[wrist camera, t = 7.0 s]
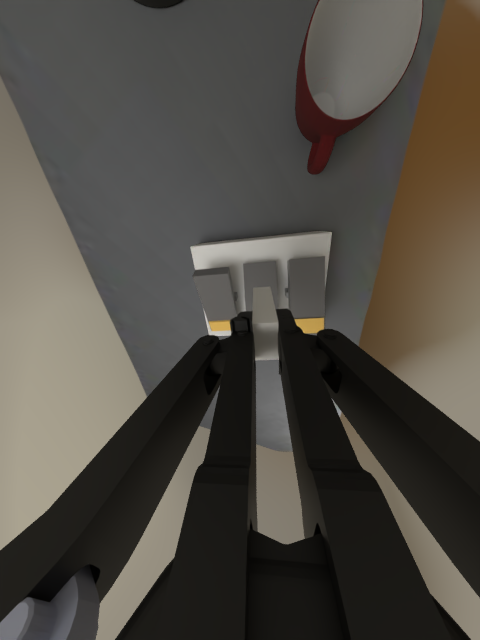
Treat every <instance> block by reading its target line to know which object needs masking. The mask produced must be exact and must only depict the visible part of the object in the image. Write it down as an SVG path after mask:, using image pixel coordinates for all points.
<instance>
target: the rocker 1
mask: <svg viewBox="0 0 480 640" xmlns="http://www.w3.org/2000/svg"><path fill="white" fill-rule="evenodd" d="M193 279H194V282H195V285H196V288H197V291H198V294H199V297H200V299H201V302H202V305H203V308H204V311H205V314H206V317H207V320H208V323H209V325H210V328H211V331H229V330H231V328H230V320H231V319H232V318H234V317H237V315H238V314H237V308H236V303H235V297H234V291H233V286H232V280H231V274H230V268H229V267H221V268H210V269H199V270H195V272H194V274H193Z"/></svg>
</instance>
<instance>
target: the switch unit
mask: <svg viewBox="0 0 480 640" xmlns="http://www.w3.org/2000/svg"><path fill="white" fill-rule="evenodd" d="M331 237H332V232H326V231H313V232H303V233H294V234H284V235H275V236H265V237H256V238H246V239H237V240H227V241H218V242H208V243H200V244H197V245H194V246H191V252H192V257H193V261H194V266H195V270H199V269H210V268H221V267H229V268H230V274H231V280H232V286H233V291H234V297H235V303H236V308H237V314H239V313H240V312H244V311H246V307H245V290H244V273H243V264H244V263H255V262H266V261H276V270H277V290H278V309H286V308H287V309H289V306H288V270H287V261H288V260H289V259H298V258H309V257H320V256H325V286H326V278H327V270H328V261H329V253H330V245H331ZM204 313H205V311H204ZM205 318H206V323H207V327H208V332H209V335H215V336H228V335H231V330H229V331H211V328H210V325H209V323H208V320H207V317H206V314H205Z"/></svg>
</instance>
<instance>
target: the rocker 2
mask: <svg viewBox="0 0 480 640" xmlns="http://www.w3.org/2000/svg"><path fill="white" fill-rule="evenodd" d="M243 273H244V290H245V307H246V311H253V288H258V287H270V288H271V292H272V296H273V301H274V305H275V309H278V290H277V270H276V261H266V262H255V263H244V264H243Z"/></svg>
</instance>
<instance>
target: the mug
mask: <svg viewBox="0 0 480 640" xmlns="http://www.w3.org/2000/svg"><path fill="white" fill-rule="evenodd" d="M422 17H423V0H318V2H317V5H316V7H315V9H314V12H313V15H312V17H311V20H310V23H309V27H308V30H307V33H306V36H305V40H304V44H303V47H302V51H301V55H300V60H299V65H298V72H297V83H296V106H295V109H296V120H297V124H298V127H299V129H300V131H301V133H302V134H303V136H304V137H305V138H306V139H308V140H309V141H310V142H312V147H311V151H310V155H309V159H308V166H307V169H308V172H309V173H310V174H319V173H320V172H322V171H323V169H324V168H325V166H326V164H327V162H328V160H329V158H330V155H331V152H332V150H333V146H334V143H335V139H336V137H338V136H340V135H343V134H345V133H347V132H348V131H350V130H352V129H354V128H355V127H357V126H358V125H359V124H361V123H362V122H363V121H364V120H365V119H367V118H368V117H369V116H370V115H371V114H372V113H373V112H374V111H375V110H376V109H377V108H378V107H379V106H380V105H381V104H382V103H383V102H384V101H385V100H386V99H387V98H388V97H389V95H390V94H391V93H392V92H393V90H394V89H395V88H396V86H397V85H398V83H399V82H400V80H401V79H402V77H403V75H404V74H405V72H406V70H407V68H408V66H409V64H410V61H411V59H412V57H413V54H414V51H415V49H416V45H417V42H418V38H419V34H420V30H421V24H422Z"/></svg>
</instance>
